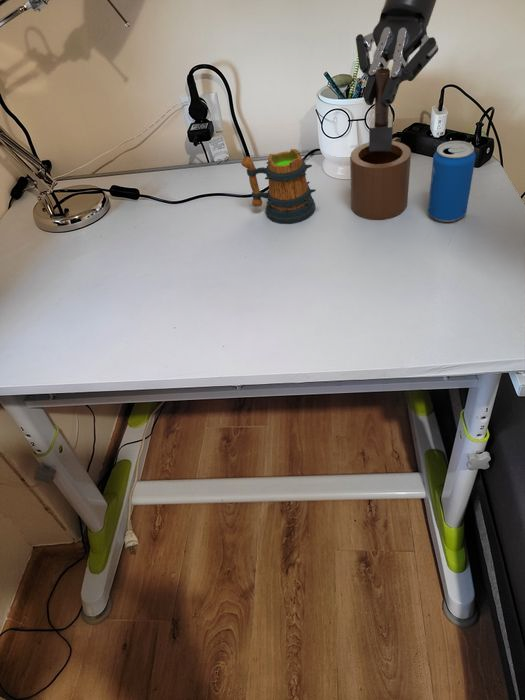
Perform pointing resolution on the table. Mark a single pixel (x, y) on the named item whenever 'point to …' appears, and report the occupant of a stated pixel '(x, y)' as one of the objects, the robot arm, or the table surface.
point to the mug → (283, 187)
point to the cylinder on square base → (380, 117)
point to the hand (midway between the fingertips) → (376, 103)
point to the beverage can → (451, 180)
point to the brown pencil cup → (380, 181)
